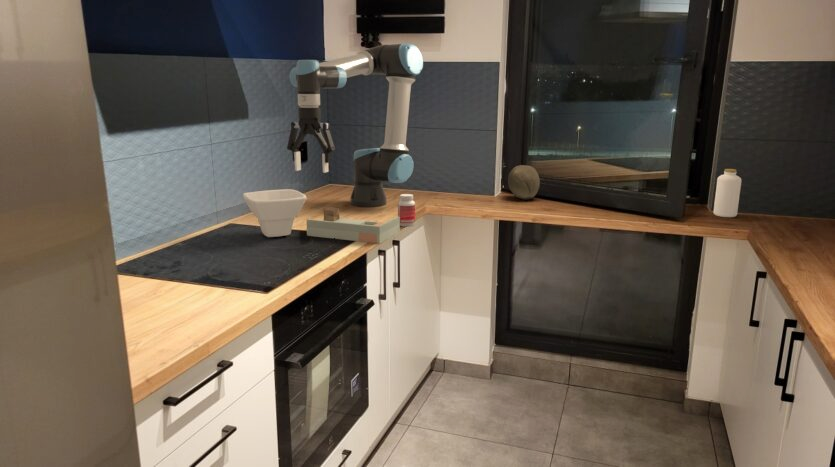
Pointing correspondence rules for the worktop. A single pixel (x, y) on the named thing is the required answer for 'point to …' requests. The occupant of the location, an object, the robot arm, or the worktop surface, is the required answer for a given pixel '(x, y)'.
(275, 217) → the bowl
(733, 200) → the potion bottle
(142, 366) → the worktop surface
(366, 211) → the worktop surface
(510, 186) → the cantaloupe
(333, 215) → the walnut block
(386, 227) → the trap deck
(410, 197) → the pill bottle
